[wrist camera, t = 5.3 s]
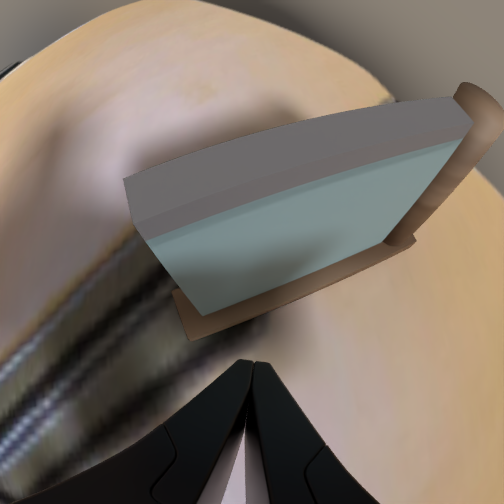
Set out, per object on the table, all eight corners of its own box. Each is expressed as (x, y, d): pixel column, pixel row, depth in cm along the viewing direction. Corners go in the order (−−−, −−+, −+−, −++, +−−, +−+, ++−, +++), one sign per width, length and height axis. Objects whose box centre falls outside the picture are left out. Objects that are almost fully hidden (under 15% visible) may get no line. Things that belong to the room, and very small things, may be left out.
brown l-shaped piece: (409, 247, 17) (520, 128, 7) (191, 341, 15) (86, 272, 5) (389, 212, 18) (476, 78, 8) (175, 295, 16) (73, 170, 6)
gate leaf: (381, 242, 16) (474, 122, 7) (202, 316, 14) (133, 223, 6) (370, 223, 16) (451, 96, 8) (194, 293, 15) (123, 178, 6)
